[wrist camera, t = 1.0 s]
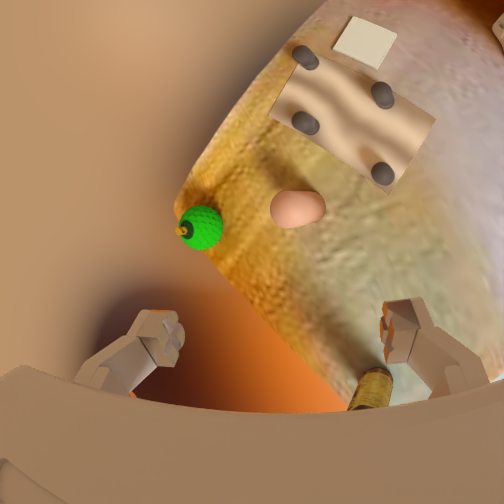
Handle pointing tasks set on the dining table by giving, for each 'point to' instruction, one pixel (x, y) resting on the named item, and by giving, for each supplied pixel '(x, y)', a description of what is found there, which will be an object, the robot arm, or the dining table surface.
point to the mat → (365, 42)
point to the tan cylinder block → (297, 208)
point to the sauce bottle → (372, 390)
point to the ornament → (200, 227)
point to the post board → (352, 117)
